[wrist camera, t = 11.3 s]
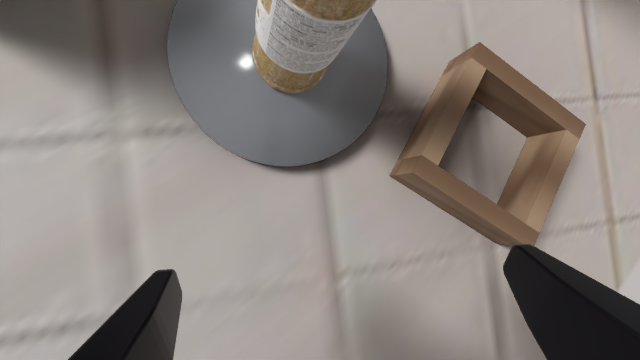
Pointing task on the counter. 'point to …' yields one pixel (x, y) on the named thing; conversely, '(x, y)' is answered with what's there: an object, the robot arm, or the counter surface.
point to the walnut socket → (531, 167)
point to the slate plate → (259, 97)
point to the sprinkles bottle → (302, 39)
